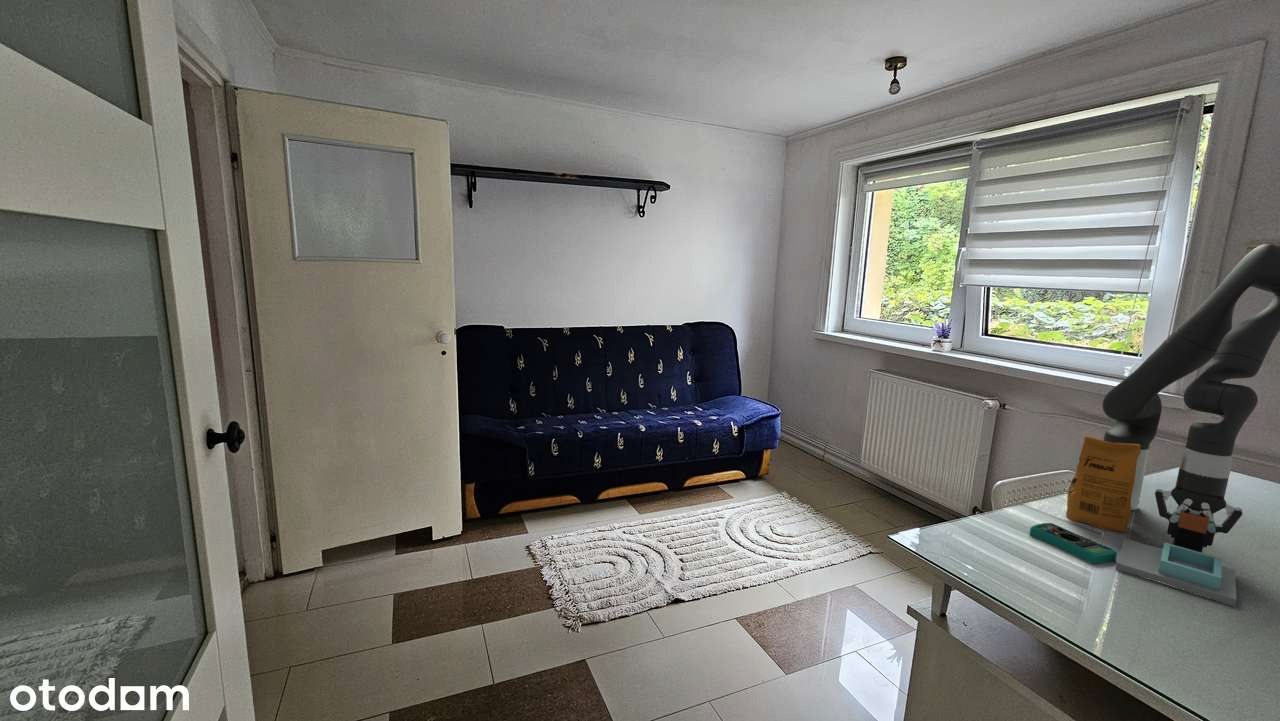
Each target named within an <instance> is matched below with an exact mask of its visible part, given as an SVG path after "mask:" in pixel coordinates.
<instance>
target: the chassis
mask: <svg viewBox="0 0 1280 721" xmlns="http://www.w3.org/2000/svg"><path fill="white" fill-rule="evenodd" d="M1115 570H1117V571H1121V572H1123V571H1124V572H1123V573H1126V572H1127V574H1129V573H1130V575H1133V574H1135V575H1134V576H1136V575H1139V576H1142V577H1145V578H1150V579H1153V580H1156V581H1160V582H1163V583H1166V584H1169V585H1172V586H1175V587H1177V588H1180V589H1184V590H1186V591H1188V592H1187V593H1189V592H1192V593H1196V594H1199V595H1202V596H1206V597H1209V598H1211V599H1213V600H1212V601H1214V600H1216V601H1215V602H1218V601H1219V602H1218V603H1222V604H1224V605H1227V604H1228V605H1227V606H1230V605H1231V607H1233V606H1234V608H1236V604H1237V601H1238V600H1237V586H1236V585H1237V584H1236V569H1233V568H1231V567H1230V568H1229V567H1226V566H1223V565H1222V558H1221V557H1219V556H1214V555H1212V554H1208V553H1204V552H1202V553H1201V552H1197V551H1194V550H1190V549H1186V548H1183V547H1179V546H1176V545H1174V544H1171V543H1167V542H1163V547H1162V548H1159V547H1155V546H1152V545H1148V544H1145V543H1141V542H1138V541H1134V540H1131V539H1127V538H1125V539H1124V541H1123V545H1122V548H1121V550H1120V553H1119V555H1118V558H1117V561H1116V564H1115ZM1139 576H1138V577H1139ZM1142 577H1141V578H1142ZM1145 578H1144V579H1145ZM1177 588H1176V589H1177ZM1180 589H1179V590H1180ZM1186 591H1185V592H1186ZM1192 593H1191V594H1192ZM1196 594H1195V595H1196ZM1199 595H1198V596H1199ZM1202 596H1201V597H1202ZM1211 599H1210V600H1211Z"/></svg>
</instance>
